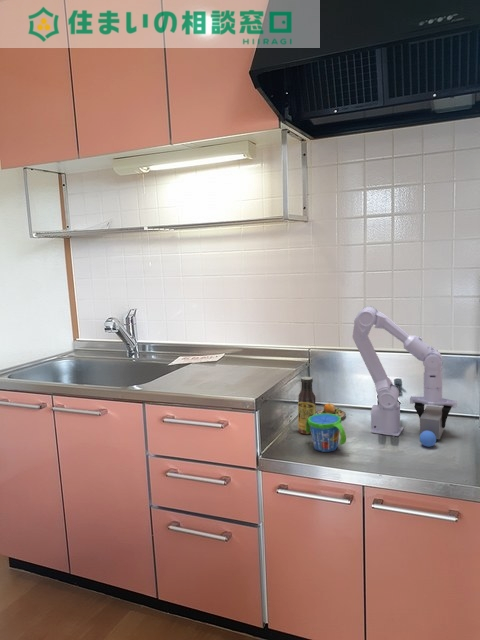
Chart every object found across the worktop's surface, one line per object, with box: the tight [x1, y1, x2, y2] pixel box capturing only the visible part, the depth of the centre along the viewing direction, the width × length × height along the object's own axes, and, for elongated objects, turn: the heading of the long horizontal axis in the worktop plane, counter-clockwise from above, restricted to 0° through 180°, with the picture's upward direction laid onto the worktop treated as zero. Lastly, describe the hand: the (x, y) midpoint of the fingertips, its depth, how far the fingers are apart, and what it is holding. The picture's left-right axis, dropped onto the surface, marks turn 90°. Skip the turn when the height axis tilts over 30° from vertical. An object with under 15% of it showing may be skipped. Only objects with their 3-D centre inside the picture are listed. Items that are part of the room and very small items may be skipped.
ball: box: [419, 431, 437, 448], centre depth 157 cm, size 5×5×5 cm
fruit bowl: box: [316, 401, 347, 421], centre depth 189 cm, size 12×12×8 cm
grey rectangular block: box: [419, 405, 446, 440], centre depth 166 cm, size 6×12×6 cm, turn 149°
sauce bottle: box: [297, 376, 317, 435], centre depth 174 cm, size 7×6×20 cm
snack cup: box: [305, 413, 347, 453], centre depth 160 cm, size 16×10×10 cm
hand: (433, 425), depth 166 cm, fingers closed on grey rectangular block, 6 cm apart
